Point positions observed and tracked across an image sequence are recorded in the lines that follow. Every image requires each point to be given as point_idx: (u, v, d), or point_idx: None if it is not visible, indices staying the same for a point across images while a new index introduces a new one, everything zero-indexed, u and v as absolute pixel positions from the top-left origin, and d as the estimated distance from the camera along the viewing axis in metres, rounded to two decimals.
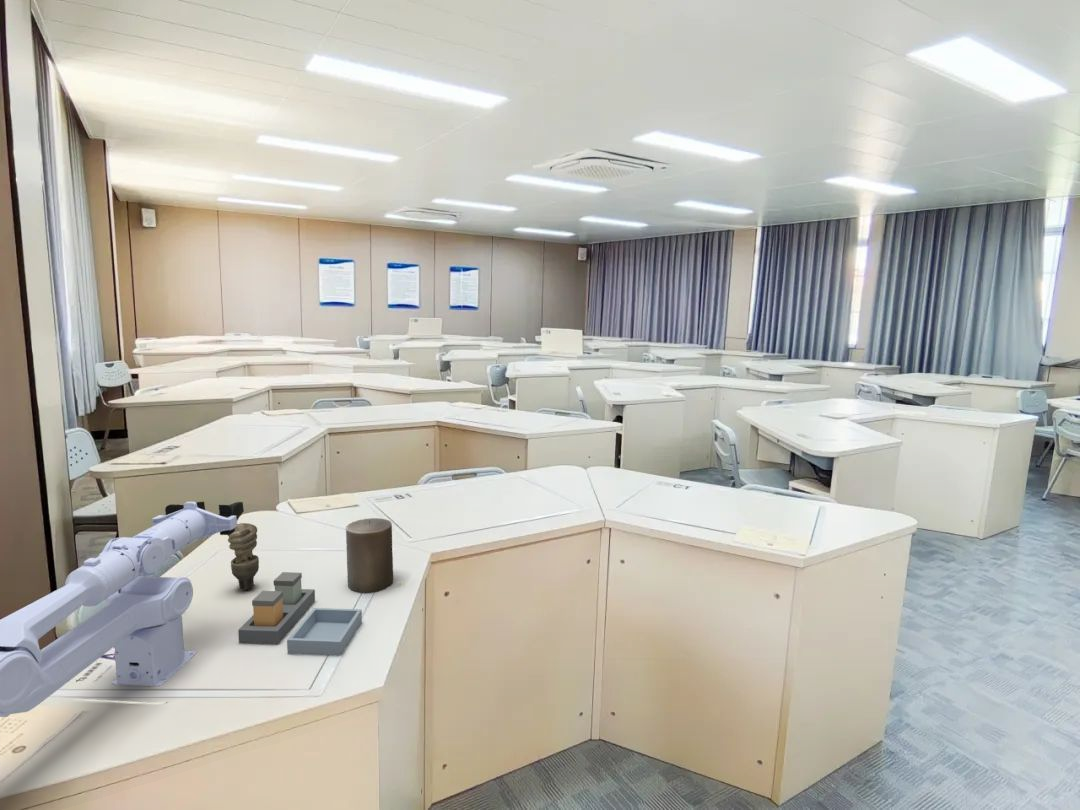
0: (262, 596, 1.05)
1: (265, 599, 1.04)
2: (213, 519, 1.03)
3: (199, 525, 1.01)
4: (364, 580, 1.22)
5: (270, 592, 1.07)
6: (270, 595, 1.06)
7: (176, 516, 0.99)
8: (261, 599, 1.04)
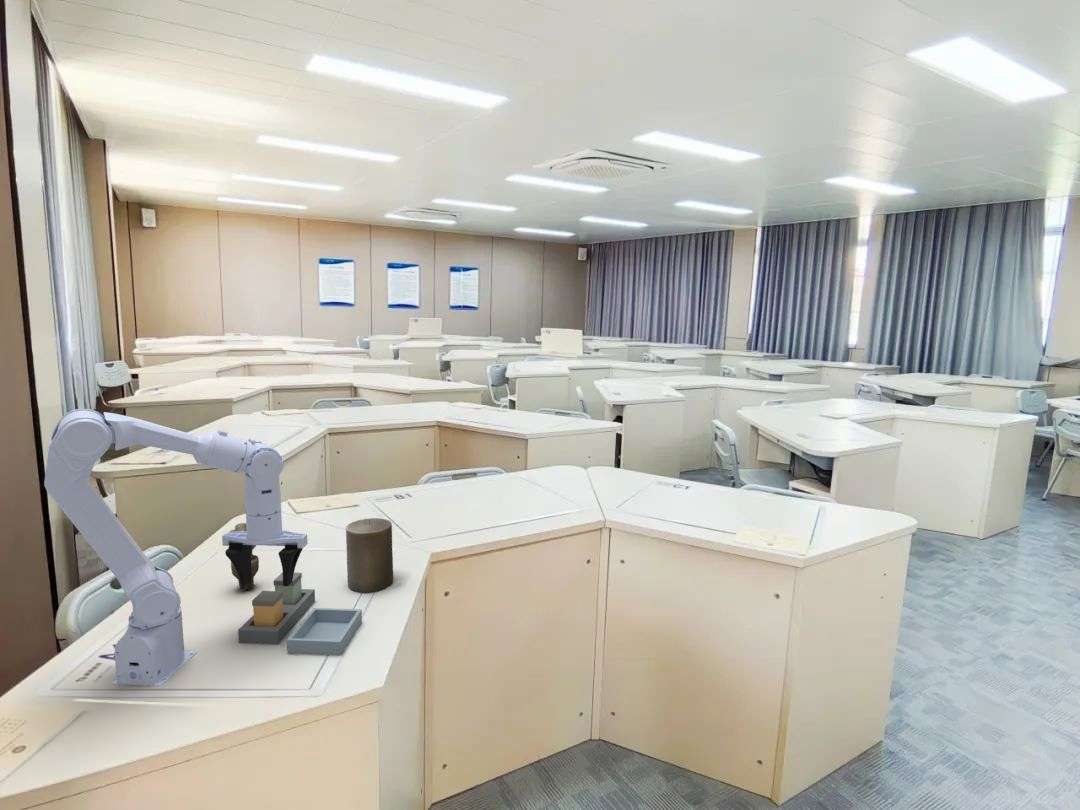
0: (262, 596, 1.05)
1: (265, 599, 1.04)
2: None
3: (281, 524, 1.04)
4: (364, 580, 1.22)
5: (270, 592, 1.07)
6: (270, 595, 1.06)
7: None
8: (261, 599, 1.04)
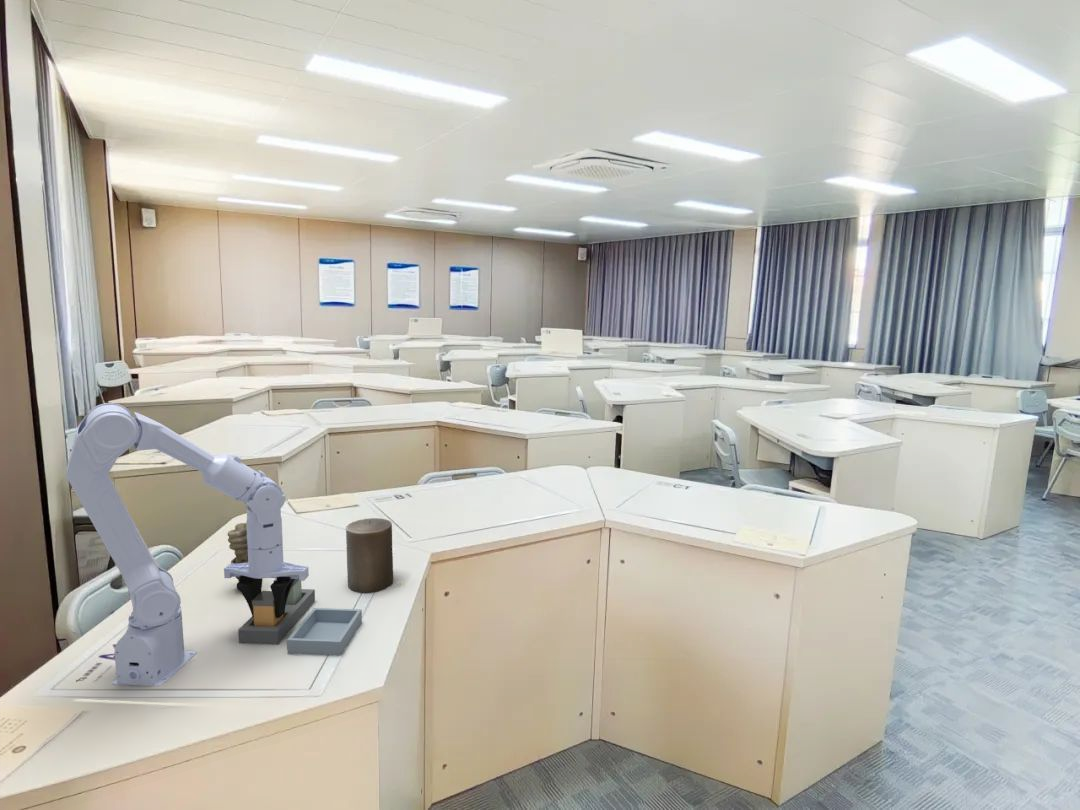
0: (262, 596, 1.05)
1: (265, 599, 1.04)
2: None
3: (282, 557, 1.05)
4: (364, 580, 1.22)
5: (270, 592, 1.07)
6: (270, 595, 1.06)
7: None
8: (261, 599, 1.04)
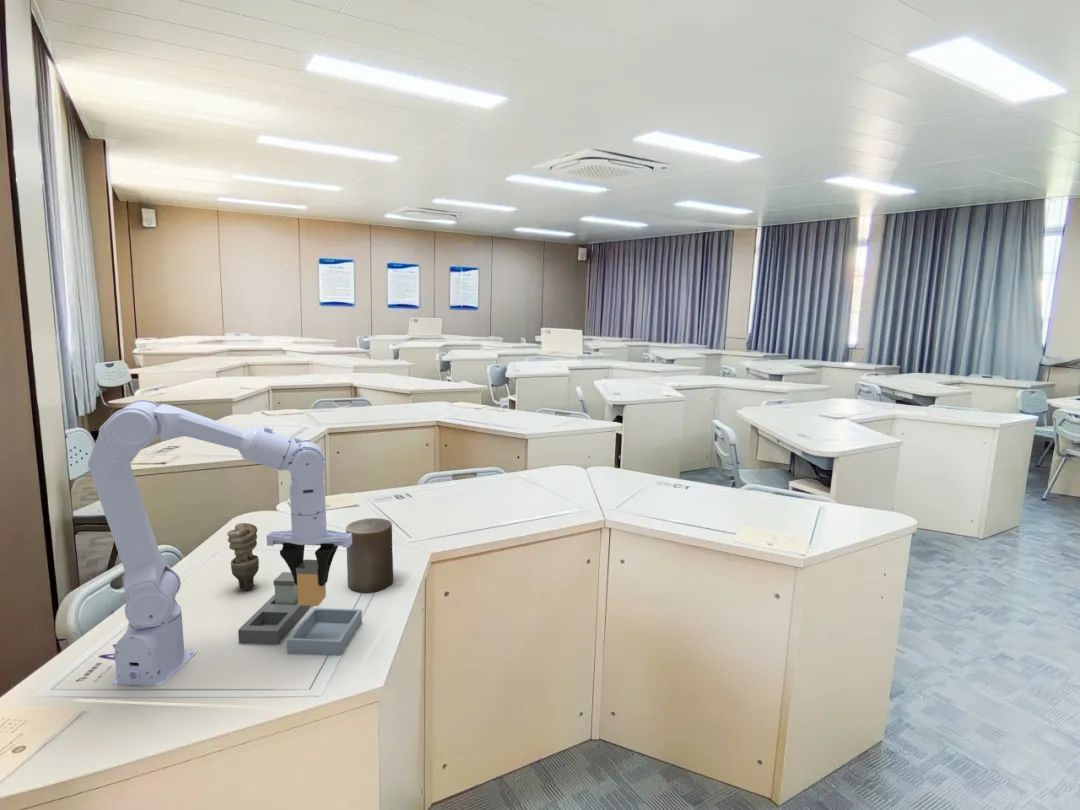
0: (305, 564, 1.03)
1: (309, 567, 1.02)
2: None
3: (325, 524, 1.03)
4: (364, 580, 1.22)
5: (312, 561, 1.05)
6: (313, 563, 1.04)
7: None
8: (305, 567, 1.02)
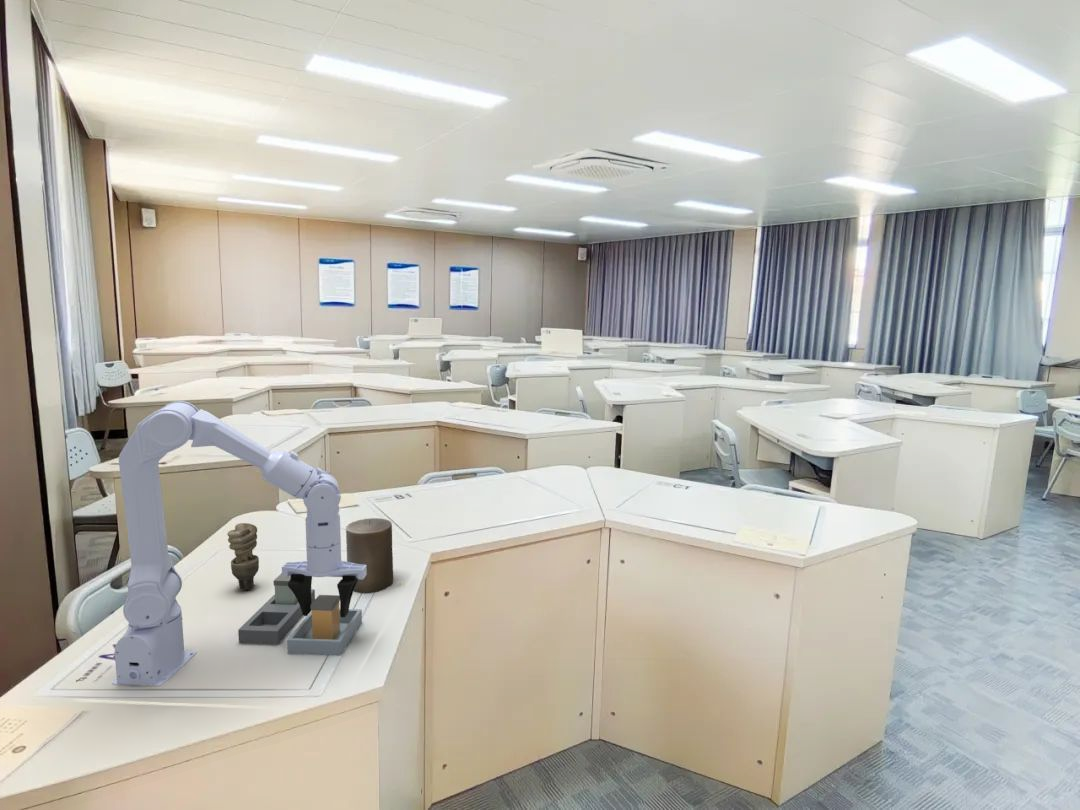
0: (320, 600, 1.04)
1: (323, 603, 1.03)
2: None
3: (340, 555, 1.04)
4: (364, 580, 1.22)
5: (327, 596, 1.06)
6: (327, 599, 1.05)
7: None
8: (319, 603, 1.03)
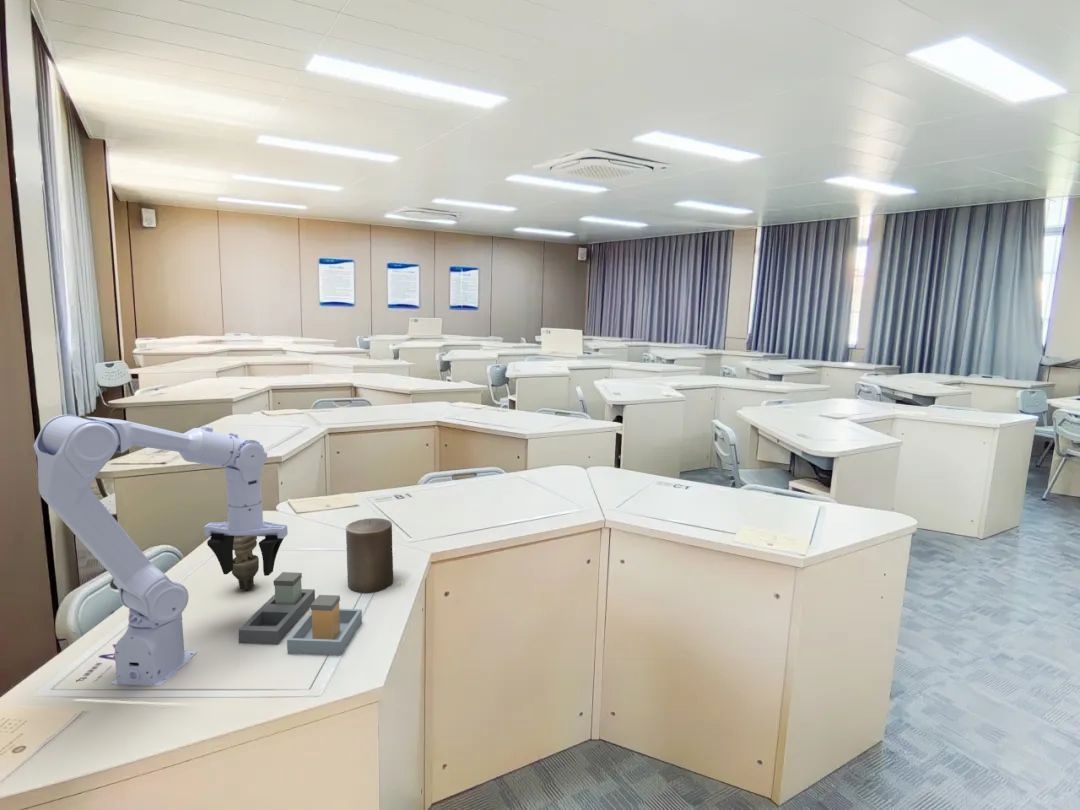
0: (320, 600, 1.04)
1: (323, 603, 1.03)
2: None
3: (262, 515, 1.07)
4: (364, 580, 1.22)
5: (327, 596, 1.06)
6: (327, 599, 1.05)
7: None
8: (319, 603, 1.03)
